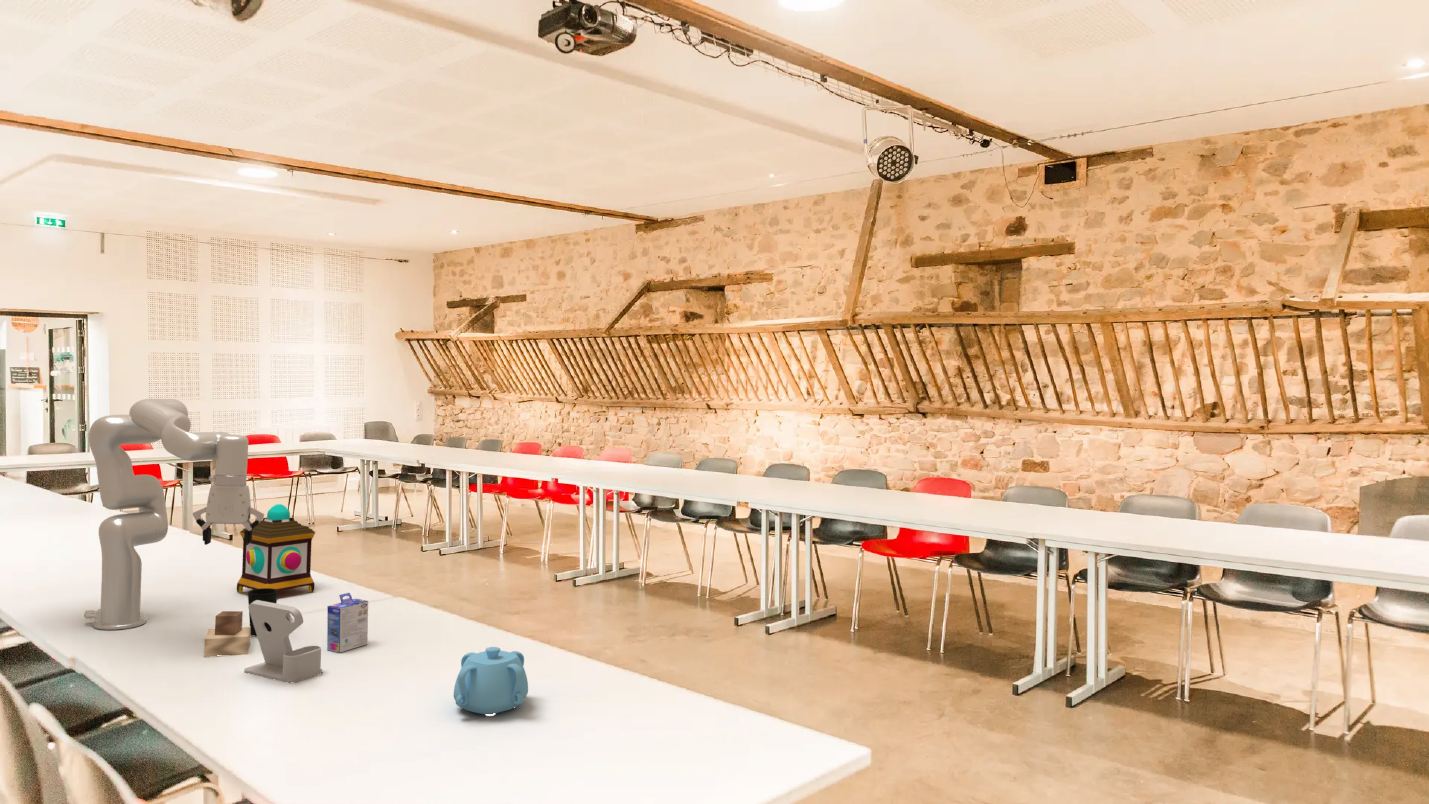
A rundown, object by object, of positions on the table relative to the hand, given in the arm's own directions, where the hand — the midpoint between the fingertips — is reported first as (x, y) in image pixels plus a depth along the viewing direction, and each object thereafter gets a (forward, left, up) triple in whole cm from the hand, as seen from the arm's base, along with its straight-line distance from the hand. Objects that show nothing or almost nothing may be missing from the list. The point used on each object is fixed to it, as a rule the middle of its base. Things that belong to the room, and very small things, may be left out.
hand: (227, 544), depth 241 cm
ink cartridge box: (+32, -6, -28) cm, 43 cm away
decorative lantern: (0, +60, -28) cm, 66 cm away
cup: (+7, +10, -27) cm, 30 cm away
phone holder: (+20, -26, -28) cm, 43 cm away
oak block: (+2, -6, -28) cm, 28 cm away
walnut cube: (+2, -5, -23) cm, 23 cm away
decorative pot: (+70, -57, -28) cm, 94 cm away
